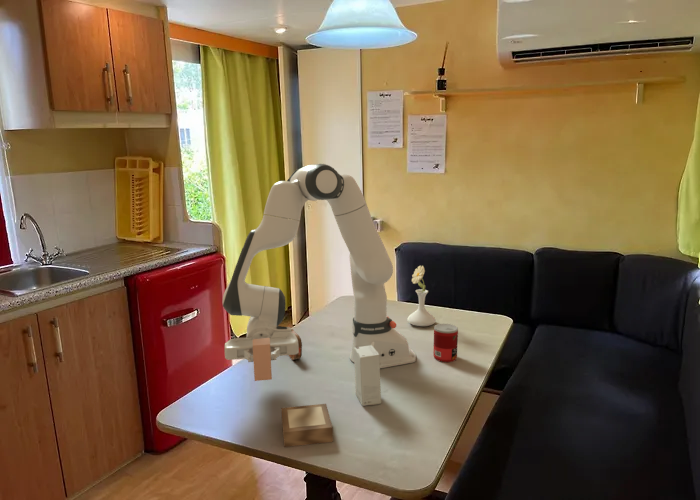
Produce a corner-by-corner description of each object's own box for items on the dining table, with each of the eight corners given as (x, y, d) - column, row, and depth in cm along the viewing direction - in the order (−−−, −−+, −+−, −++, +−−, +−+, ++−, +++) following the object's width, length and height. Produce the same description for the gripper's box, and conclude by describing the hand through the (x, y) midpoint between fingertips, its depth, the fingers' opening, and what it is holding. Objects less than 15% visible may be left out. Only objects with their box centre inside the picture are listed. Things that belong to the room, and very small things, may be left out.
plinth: (326, 417, 143) (326, 403, 142) (332, 441, 131) (332, 426, 130) (281, 421, 141) (281, 407, 140) (284, 447, 129) (283, 431, 128)
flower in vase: (407, 318, 219) (408, 260, 214) (435, 319, 218) (436, 260, 213) (406, 329, 207) (407, 267, 202) (435, 330, 205) (437, 268, 200)
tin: (282, 348, 190) (281, 326, 189) (290, 346, 191) (290, 324, 190) (295, 364, 177) (294, 340, 175) (304, 362, 178) (303, 338, 176)
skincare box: (381, 404, 149) (381, 355, 146) (360, 407, 148) (360, 357, 145) (373, 390, 157) (373, 344, 154) (353, 393, 156) (353, 346, 153)
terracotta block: (271, 372, 144) (269, 337, 142) (271, 379, 140) (270, 344, 138) (254, 373, 144) (252, 339, 142) (254, 380, 139) (252, 345, 137)
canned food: (456, 363, 176) (458, 332, 173) (432, 361, 177) (433, 330, 175) (457, 354, 183) (458, 324, 181) (433, 352, 185) (434, 322, 182)
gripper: (224, 331, 151) (221, 350, 138) (296, 326, 154) (299, 344, 141) (225, 352, 152) (222, 373, 139) (296, 346, 156) (300, 366, 142)
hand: (262, 358), depth 140 cm, fingers closed on terracotta block, 4 cm apart
